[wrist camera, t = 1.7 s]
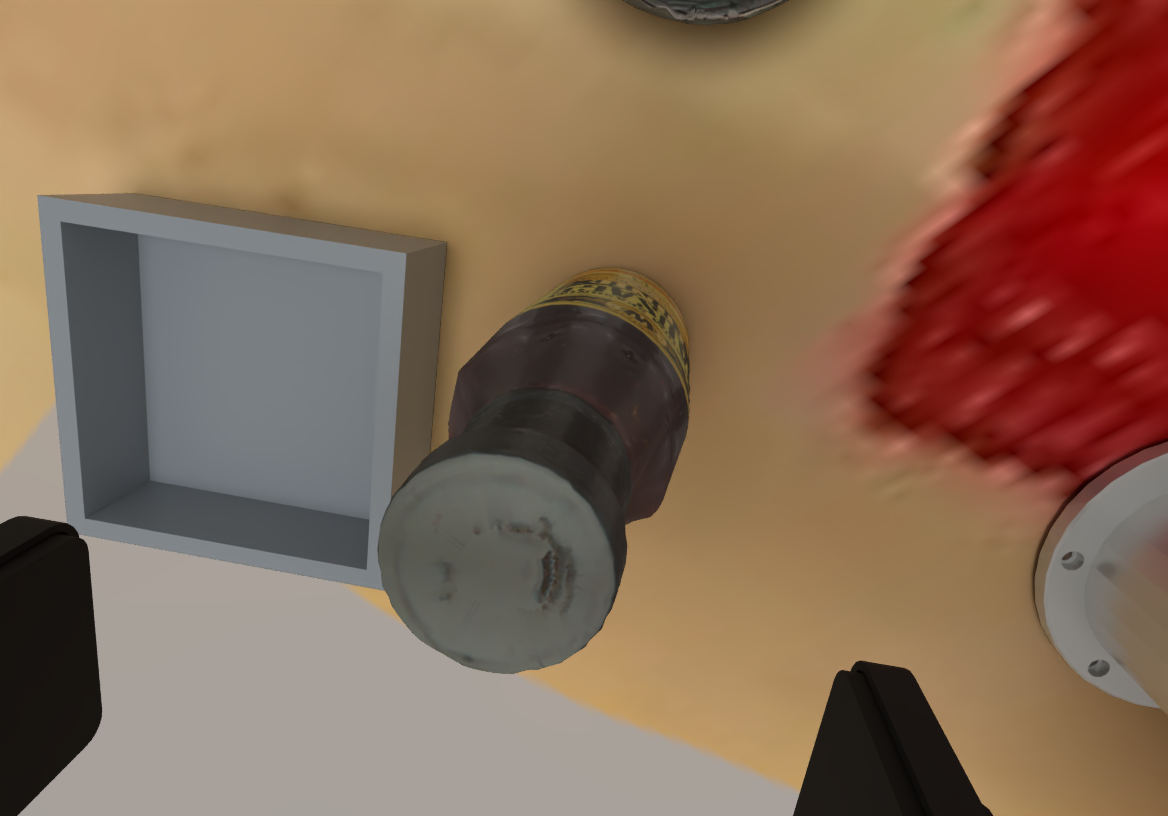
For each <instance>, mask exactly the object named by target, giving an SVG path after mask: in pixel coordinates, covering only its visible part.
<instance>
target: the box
mask: <svg viewBox="0 0 1168 816" xmlns="http://www.w3.org/2000/svg"><path fill="white" fill-rule="evenodd" d="M37 197H38V208H39V219H40V230H41V241H42V252H43V263H44V274H45V285H46V296H47V307H48V318H49V329H50V340H51V351H52V362H53V373H54V384H55V395H56V406H57V417H58V428H59V439H60V449H61V461H62V472H63V481H64V494H65V505H66V514H67V515H66V516H67V523H68V524H70V525H72V526H74V528H75V529H76V530H77V532H78V534H79V535H85V536H91V537H96V538H101V539H107V540H112V541H117V542H123V543H128V544H134V545H140V546H145V547H150V548H155V549H161V550H166V551H172V552H177V553H183V554H188V555H193V556H199V557H205V558H210V559H215V560H221V561H226V562H232V563H237V564H243V565H248V566H254V567H259V568H264V569H270V570H275V571H280V572H286V573H292V574H297V575H302V576H308V577H313V578H318V579H324V580H329V581H335V582H340V583H346V584H351V585H356V586H362V587H367V588H373V589H378V590H384V588H383V586H382V576H381V570H380V567H379V563H378V551H377V548H378V539H379V532H380V525H381V522H382V519H383V516H384V514H385V511H386V509H387V507H388V505H389V504H390V501H391V498H392V496H393V495H394V494H395V493H396V491H397V490H398V489H399V488H400V487H401V486H402V484H403V483H404V482H405V480H406V479H407V478H408V476H409V475H410V474H411V473H412V472H413V471H414V470H415V469H416V468H417V467H418V466H419V464H420V463H421V461H422V460H423V459H425V458H426V457H427V456H428V455H429V454H430V447H431V435H432V422H433V410H434V398H435V385H436V373H437V360H438V348H439V336H440V323H441V311H442V299H443V286H444V274H445V261H446V249H447V242H443V241H436V240H430V239H423V238H417V237H411V236H404V235H398V234H391V233H385V232H379V231H372V230H366V229H359V228H353V227H347V226H340V225H334V224H327V223H321V222H315V221H308V220H302V219H295V218H289V217H283V216H276V215H270V214H263V213H257V212H251V211H244V210H238V209H232V208H225V207H219V206H212V205H206V204H200V203H193V202H187V201H180V200H174V199H168V198H161V197H155V196H148V195H142V194H136V193H124V194H75V195H37ZM384 591H385V590H384Z"/></svg>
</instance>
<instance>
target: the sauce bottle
mask: <svg viewBox="0 0 1168 816" xmlns="http://www.w3.org/2000/svg"><path fill="white" fill-rule="evenodd" d="M689 372H690V371H689V337H688V332H687V328H686V325H685V322H684V319H683V317H682V315H681V313H680V311H679V309H678V307H677V305H676V304H675V302H674V301H673V300H672V299H671V297H670V296H669V295H668V294H667V293H666V292H665V291H664V290H663V289H662V288H661V287H660V286H659V285H657V284H656V283H654V282H653V281H652V280H650V279H648V278H646V277H644V276H643V275H641V274H639V273H636V272H633V271H629V270H626V269H622V268H599V269H592V270H589V271H586V272H582V273H580V274H577V275H575V276H573V277H571V278H569V279H568V280H566V281H565V282H563V283H562V284H560V285H559V286H558V287H556V288H555V289H554V290H552V291H551V292H550V293H548V294H547V295H545V296H544V297H542V298H541V299H539V300H538V301H536V302H535V303H534V304H532V305H531V306H530V307H529V308H527V309H526V310H524V311H523V312H521V313H519V314H518V315H516V316H515V317H514V318H512V319H511V320H510V321H508V322H507V323H506V324H505V325H504V326H503V327H502V328H501V329H500V330H499V331H498V332H497V333H496V334H495V335H494V336H493V337H492V338H491V339H490V340H489V341H488V342H487V343H486V344H485V345H484V346H483V347H482V348H481V349H480V350H479V351H478V352H477V353H476V354H475V355H474V356H473V357H472V358H471V359H470V360H469V361H468V362H467V363H466V364H465V365H464V366H463V367H462V368H461V369H460V371H459V372H458V377H457V382H456V386H455V391H454V396H453V400H452V405H451V410H450V417H449V422H448V425H449V430H448V431H449V440H448V441H447V442H445V443H444V444H442V445H441V446H439V447H438V448H437V449H436V450H434V451H433V452H432V453H431V454H429V455H428V456H427V457H426V458H425V459H423V460H422V461H421V463H420V464H419V466H418V467H417V468H416V469H415V470H414V471H413V472H412V473H411V474H410V475H409V476H408V478H407V479H406V480H405V482H404V483H403V484H402V486H401V487H400V488H399V489H398V490H397V491H396V493H395V494H394V495H393V496H392V498H391V501H390V504H389V505H388V507H387V509H386V511H385V514H384V516H383V519H382V522H381V525H380V532H379V539H378V548H377V551H378V563H379V567H380V570H381V576H382V586H383V588H384V590H385V591H386V593H387V595H388V596H389V599H390V602H391V605H392V607H393V608H394V610H395V611H396V613H397V614H398V615H399V617H400V618H401V619H402V621H403V622H404V623H405V624H406V626H407V627H408V628H409V629H410V630H411V632H412V633H413V634H414V635H415V636H416V637H417V638H419V639H420V640H421V641H422V642H424V643H425V644H427V645H429V646H430V647H432V648H433V649H435V650H437V651H439V652H441V653H443V654H445V655H446V656H448V657H449V658H451V659H453V660H454V661H456V662H458V663H460V664H461V665H463V666H466V667H469V668H473V669H477V670H481V671H486V672H492V673H502V674H514V673H518V672H521V671H525V670H538V669H541V668H545V667H548V666H551V665H555V664H559V663H561V662H563V661H564V660H566V659H567V658H569V657H570V656H572V655H573V654H575V653H576V652H578V651H580V650H581V649H583V648H584V647H585V646H586V645H587V643H588V641H589V640H590V639H592V638H593V637H594V636H595V635H596V634H597V633H598V632H599V631H600V630H601V629H602V627H603V624H604V621H605V619H606V617H607V615H608V614H609V612H610V611H611V609H612V607H613V604H614V601H615V598H616V595H617V592H618V588H619V586H620V582H621V578H622V574H623V571H624V567H625V564H626V554H627V541H626V535H625V525H627V524H629V523H631V522H633V521H636V520H639V519H643V518H648V517H651V516H652V515H653V514H654V513H655V512H656V511H657V510H658V508H659V506H660V505H661V503H662V501H663V499H664V496H665V493H666V490H667V487H668V484H669V481H670V479H671V476H672V473H673V470H674V467H675V465H676V462H677V459H678V456H679V453H680V451H681V448H682V445H683V442H684V440H685V437H686V433H687V429H688V421H689V402H690V400H689V392H690V386H689Z"/></svg>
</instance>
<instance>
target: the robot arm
mask: <svg viewBox="0 0 1168 816" xmlns="http://www.w3.org/2000/svg"><path fill="white" fill-rule="evenodd" d="M1035 603H1036V607H1037V611H1038V615H1039V619H1040V622H1041V625H1042V627H1043V629H1044V631H1045V633H1046V635H1047V636H1048V638H1049V640H1050V642H1051V644H1052V645H1053V647H1054V648H1055V649H1056V650H1057V651H1058V652H1059V654H1060V655H1061V656H1062V657H1063V659H1064V660H1065V661H1066V662H1067V664H1068V665H1069V666H1070V667H1071V668H1072V669H1073V670H1074V671H1075V672H1076V673H1077V674H1078V675H1079V676H1081V677H1082V678H1083V679H1084V680H1085V681H1087V682H1088V683H1090V684H1091V685H1093V686H1095V687H1097V688H1098V689H1100V690H1102V691H1103V692H1105V693H1107V694H1109V695H1110V696H1113V697H1116V698H1119V699H1122V700H1124V701H1127V702H1130V703H1133V704H1135V705H1141V706H1146V707H1152V708H1157V709H1162V710H1163V711H1164V712H1165V713H1166V714H1167V715H1168V442H1165V443H1162V444H1159V445H1156V446H1153V447H1150V448H1147V449H1144V450H1142V451H1140V452H1138V453H1136V454H1134V455H1133V456H1131V457H1129V458H1127V459H1125V460H1123V461H1121V462H1119V463H1117V464H1115V465H1113V466H1112V467H1111V468H1109V469H1108V470H1107V471H1105V472H1104V473H1102V474H1101V475H1100V476H1098V477H1097V478H1096V479H1094V480H1093V481H1091V482H1090V483H1089V484H1088V485H1087V486H1086V487H1085V488H1084V489H1083V490H1082V491H1081V492H1080V493H1079V494H1078V495H1077V496H1076V497H1075V498H1074V499H1073V500H1072V501H1071V502H1070V503H1069V504H1068V505H1067V506H1066V507H1065V509H1064V510H1063V512H1062V513H1061V515H1060V516H1059V518H1058V519H1057V520H1056V522H1055V523H1054V525H1053V526H1052V528H1051V529H1050V531H1049V534H1048V536H1047V538H1046V541H1045V543H1044V545H1043V547H1042V550H1041V552H1040V555H1039V560H1038V565H1037V569H1036V574H1035ZM101 718H102V703H101V693H100V680H99V668H98V657H97V645H96V633H95V621H94V609H93V599H92V586H91V574H90V563H89V551H88V546H87V544H86V542H85V541H84V540H83V539H81V538H79V534H78V532H77V530H76V529H75V528H74V526H72V525H70V524H68V523H62V522H56V521H51V520H45V519H39V518H34V517H27V516H17V517H15V518H12V519H9V520H7V521H5V522H3V523H2V524H0V816H17V815H18V814H19V813H20V812H21V811H22V810H23V809H24V808H25V807H26V806H27V805H28V804H29V803H30V802H31V801H32V800H33V799H34V798H35V797H36V796H37V795H38V794H39V793H40V792H41V791H42V790H43V789H44V788H45V787H46V786H47V785H48V784H49V783H50V782H51V781H52V780H53V779H54V778H55V777H56V776H57V775H58V774H59V773H60V772H61V771H62V770H63V769H64V768H65V767H66V766H67V765H68V764H69V763H70V762H71V761H72V760H73V759H74V758H75V757H76V756H77V755H78V754H79V753H80V752H81V751H82V750H83V749H84V748H85V747H86V746H87V745H88V743H89V742H90V741H91V740H92V738H93V737H94V735H95V733H96V732H97V729H98V727H99V724H100V721H101ZM793 816H993V815H992V813H991V812H990V810H989V809H988V808H987V807H985V806H984V805H983V804H982V803H981V801H980V800H979V798H978V796H977V794H976V792H975V790H974V788H973V786H972V784H971V783H970V781H969V779H968V777H967V775H966V773H965V771H964V769H963V767H962V766H961V764H960V762H959V760H958V758H957V756H956V754H955V752H954V751H953V749H952V747H951V745H950V743H949V741H948V739H947V737H946V735H945V734H944V732H943V730H942V728H941V726H940V724H939V722H938V720H937V719H936V717H935V715H934V713H933V711H932V709H931V707H930V705H929V703H928V702H927V700H926V698H925V696H924V694H923V692H922V690H921V688H920V687H919V685H918V683H917V681H916V679H915V677H914V676H913V674H912V673H911V672H910V670H908V669H905V668H900V667H895V666H889V665H883V664H877V663H872V662H866V661H858V662H856V663H855V664H854V665H853V667H852V669H851V671H844V670H841V671H839V672H838V673H837V674H836V677H835V679H834V682H833V685H832V689H831V692H830V695H829V698H828V702H827V705H826V708H825V712H824V715H823V718H822V722H821V725H820V728H819V732H818V735H817V738H816V741H815V745H814V748H813V751H812V755H811V758H810V761H809V765H808V768H807V771H806V775H805V778H804V781H803V784H802V788H801V791H800V794H799V798H798V801H797V804H796V808H795V811H794V814H793Z"/></svg>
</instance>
